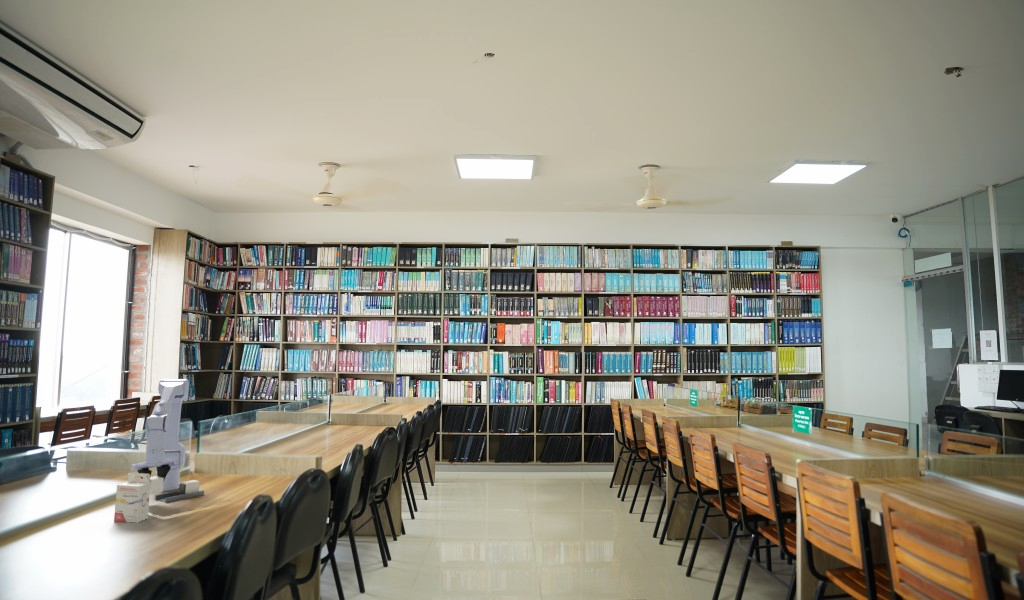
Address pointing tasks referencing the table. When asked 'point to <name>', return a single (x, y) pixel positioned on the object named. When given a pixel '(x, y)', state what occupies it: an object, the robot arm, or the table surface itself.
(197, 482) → the white and grey block
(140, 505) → the ink cartridge box
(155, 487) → the white cardboard box
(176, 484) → the robot arm
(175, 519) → the table surface
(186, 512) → the table surface
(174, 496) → the sliding window
